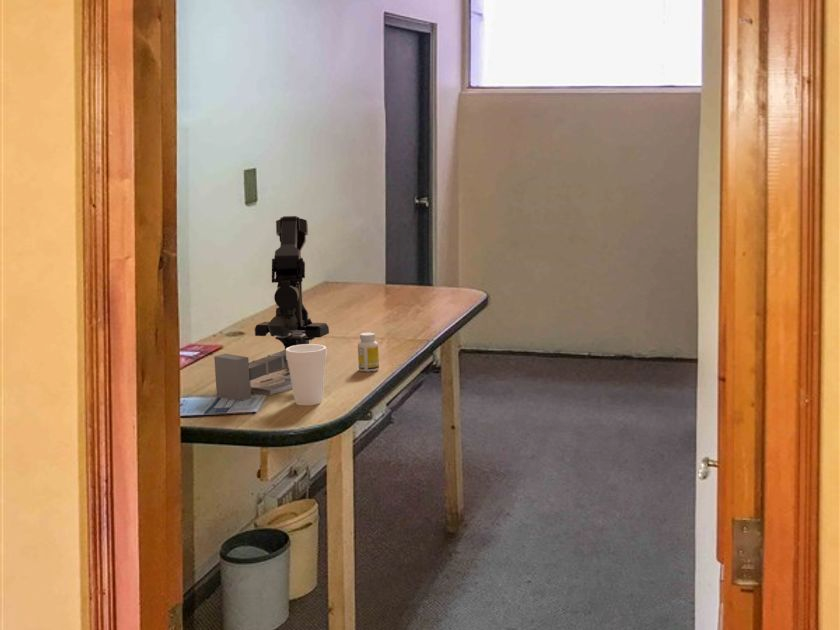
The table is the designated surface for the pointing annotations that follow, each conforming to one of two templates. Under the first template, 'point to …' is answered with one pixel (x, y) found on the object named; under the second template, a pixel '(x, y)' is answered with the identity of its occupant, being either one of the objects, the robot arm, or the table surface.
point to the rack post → (232, 376)
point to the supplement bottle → (368, 353)
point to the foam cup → (307, 372)
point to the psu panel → (272, 383)
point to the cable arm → (267, 365)
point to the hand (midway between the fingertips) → (293, 362)
